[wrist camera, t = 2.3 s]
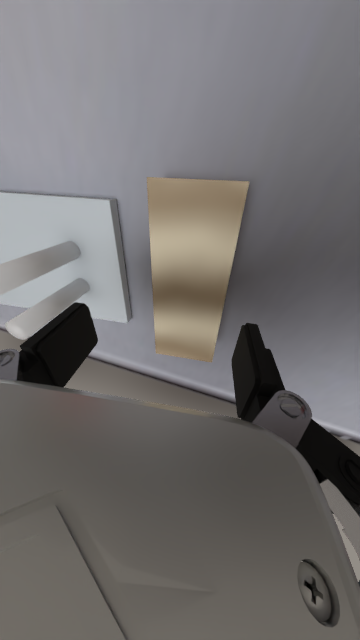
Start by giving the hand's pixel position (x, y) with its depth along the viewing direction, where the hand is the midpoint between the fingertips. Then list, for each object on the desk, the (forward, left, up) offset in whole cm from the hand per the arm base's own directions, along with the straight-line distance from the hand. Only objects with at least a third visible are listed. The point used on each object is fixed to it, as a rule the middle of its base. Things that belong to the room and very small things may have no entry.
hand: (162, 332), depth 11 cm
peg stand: (+16, 0, -9) cm, 18 cm away
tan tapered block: (-1, 0, -9) cm, 9 cm away
